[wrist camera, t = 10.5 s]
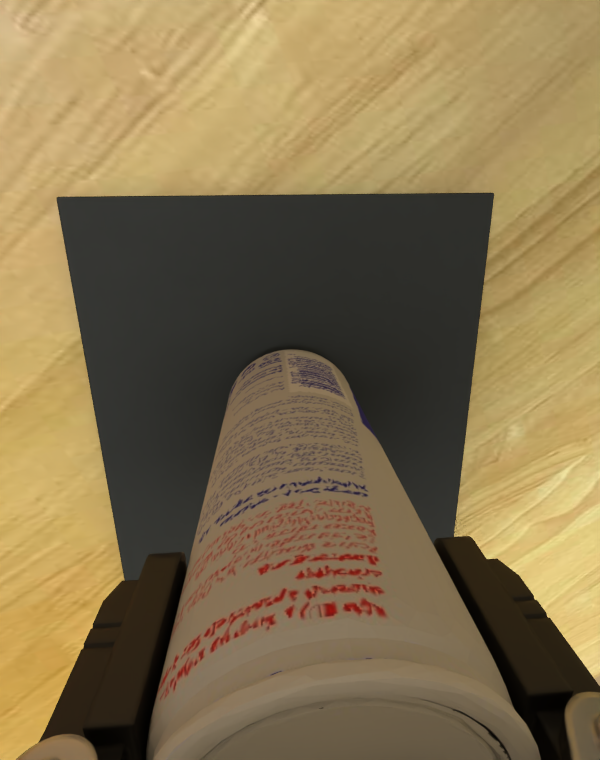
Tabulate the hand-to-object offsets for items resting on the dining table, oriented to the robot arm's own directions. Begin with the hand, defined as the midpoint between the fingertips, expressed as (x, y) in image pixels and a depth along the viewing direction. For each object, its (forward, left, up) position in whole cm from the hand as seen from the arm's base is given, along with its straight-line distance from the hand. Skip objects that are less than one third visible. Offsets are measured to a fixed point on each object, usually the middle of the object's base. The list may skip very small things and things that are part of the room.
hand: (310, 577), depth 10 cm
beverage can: (0, 0, -11) cm, 11 cm away
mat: (+4, 0, -12) cm, 13 cm away
